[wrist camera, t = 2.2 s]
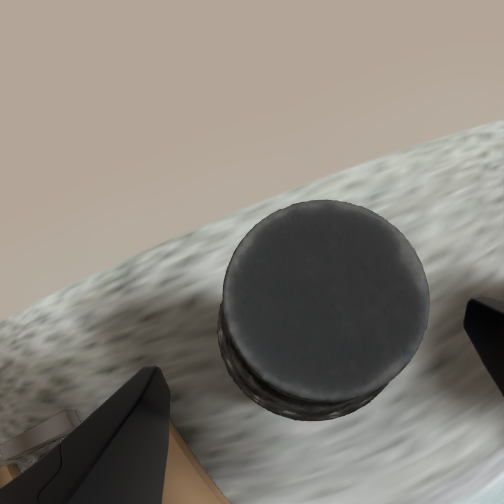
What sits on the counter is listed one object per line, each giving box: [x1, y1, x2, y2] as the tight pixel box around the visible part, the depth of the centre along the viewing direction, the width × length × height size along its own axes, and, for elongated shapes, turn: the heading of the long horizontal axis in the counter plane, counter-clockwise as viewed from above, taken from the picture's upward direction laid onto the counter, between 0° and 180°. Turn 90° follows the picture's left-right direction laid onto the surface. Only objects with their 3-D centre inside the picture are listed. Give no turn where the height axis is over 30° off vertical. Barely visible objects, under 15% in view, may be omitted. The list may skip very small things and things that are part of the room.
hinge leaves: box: [0, 410, 231, 504], centre depth 11 cm, size 21×11×1 cm, turn 124°
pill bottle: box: [217, 200, 430, 421], centre depth 11 cm, size 6×6×11 cm
